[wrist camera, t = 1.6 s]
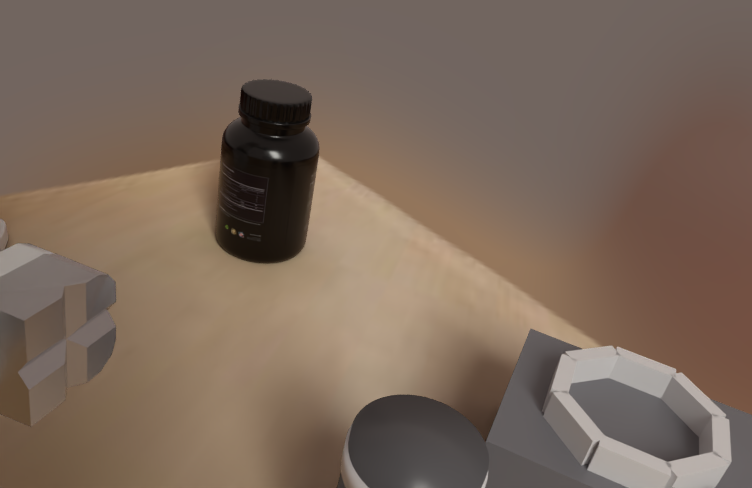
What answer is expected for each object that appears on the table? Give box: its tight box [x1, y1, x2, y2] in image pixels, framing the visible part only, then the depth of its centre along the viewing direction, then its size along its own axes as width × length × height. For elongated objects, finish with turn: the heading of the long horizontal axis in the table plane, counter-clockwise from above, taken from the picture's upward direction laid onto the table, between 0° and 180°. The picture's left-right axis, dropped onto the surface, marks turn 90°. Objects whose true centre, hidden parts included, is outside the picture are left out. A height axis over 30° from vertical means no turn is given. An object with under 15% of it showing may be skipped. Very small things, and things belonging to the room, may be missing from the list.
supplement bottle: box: [216, 79, 319, 263], centre depth 51 cm, size 7×7×12 cm
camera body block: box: [485, 329, 752, 488], centre depth 35 cm, size 12×10×8 cm
